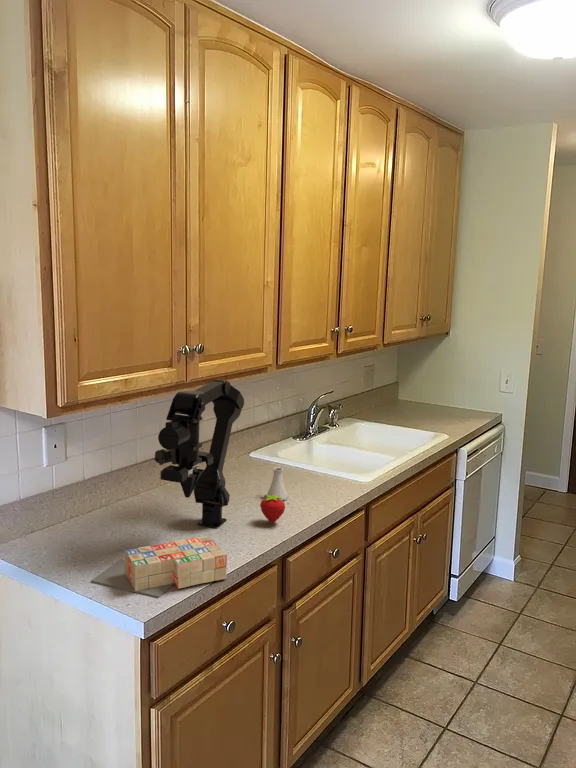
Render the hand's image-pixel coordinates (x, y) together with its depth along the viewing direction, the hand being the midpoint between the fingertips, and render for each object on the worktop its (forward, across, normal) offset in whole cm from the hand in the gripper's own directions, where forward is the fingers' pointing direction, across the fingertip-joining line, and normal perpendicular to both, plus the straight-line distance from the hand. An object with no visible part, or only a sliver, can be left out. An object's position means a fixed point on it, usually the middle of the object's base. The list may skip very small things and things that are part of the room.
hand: (187, 497), depth 171 cm
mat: (+13, +22, -1) cm, 26 cm away
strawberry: (+13, -22, +16) cm, 30 cm away
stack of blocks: (+10, +14, +2) cm, 17 cm away
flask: (+13, -42, +10) cm, 45 cm away
